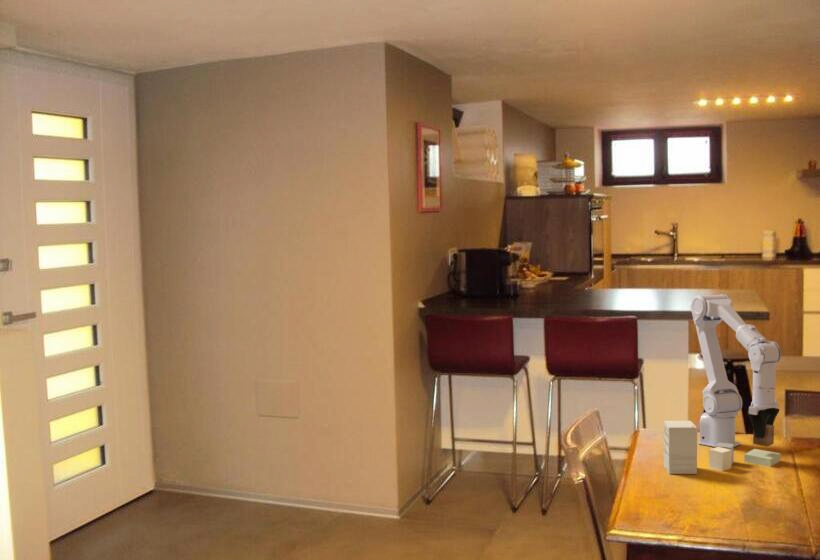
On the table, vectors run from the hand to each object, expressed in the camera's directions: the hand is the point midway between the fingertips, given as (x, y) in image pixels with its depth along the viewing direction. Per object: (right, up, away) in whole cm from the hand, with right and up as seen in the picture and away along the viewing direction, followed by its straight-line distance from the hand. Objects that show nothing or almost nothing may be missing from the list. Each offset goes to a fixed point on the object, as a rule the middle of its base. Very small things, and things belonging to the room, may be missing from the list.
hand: (762, 435), depth 235 cm
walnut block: (0, -2, 0) cm, 2 cm away
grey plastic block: (-11, -7, 0) cm, 13 cm away
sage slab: (0, -8, +1) cm, 8 cm away
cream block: (-13, -8, -4) cm, 16 cm away
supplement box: (-25, -8, -6) cm, 27 cm away
